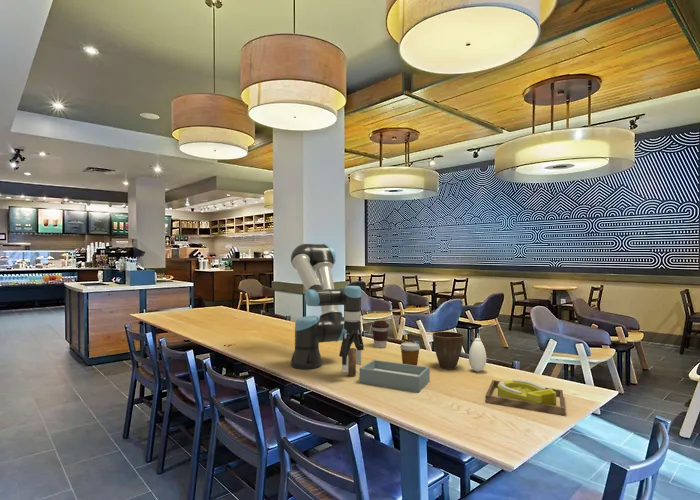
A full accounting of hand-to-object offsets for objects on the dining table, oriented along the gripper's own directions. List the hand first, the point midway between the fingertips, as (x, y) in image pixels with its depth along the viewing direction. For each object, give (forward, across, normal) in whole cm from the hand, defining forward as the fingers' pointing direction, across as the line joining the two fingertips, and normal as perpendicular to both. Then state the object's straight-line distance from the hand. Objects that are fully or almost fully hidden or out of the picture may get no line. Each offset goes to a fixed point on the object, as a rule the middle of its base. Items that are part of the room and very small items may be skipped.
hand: (351, 368), depth 180 cm
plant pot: (+4, +35, -35) cm, 50 cm away
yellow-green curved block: (+4, +5, -71) cm, 71 cm away
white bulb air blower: (+4, +35, -49) cm, 60 cm away
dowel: (+3, 0, 0) cm, 3 cm away
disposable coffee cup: (+4, +22, -20) cm, 30 cm away
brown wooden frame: (+4, +5, -71) cm, 71 cm away
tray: (+4, +1, -20) cm, 20 cm away
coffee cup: (+3, +59, +10) cm, 60 cm away
